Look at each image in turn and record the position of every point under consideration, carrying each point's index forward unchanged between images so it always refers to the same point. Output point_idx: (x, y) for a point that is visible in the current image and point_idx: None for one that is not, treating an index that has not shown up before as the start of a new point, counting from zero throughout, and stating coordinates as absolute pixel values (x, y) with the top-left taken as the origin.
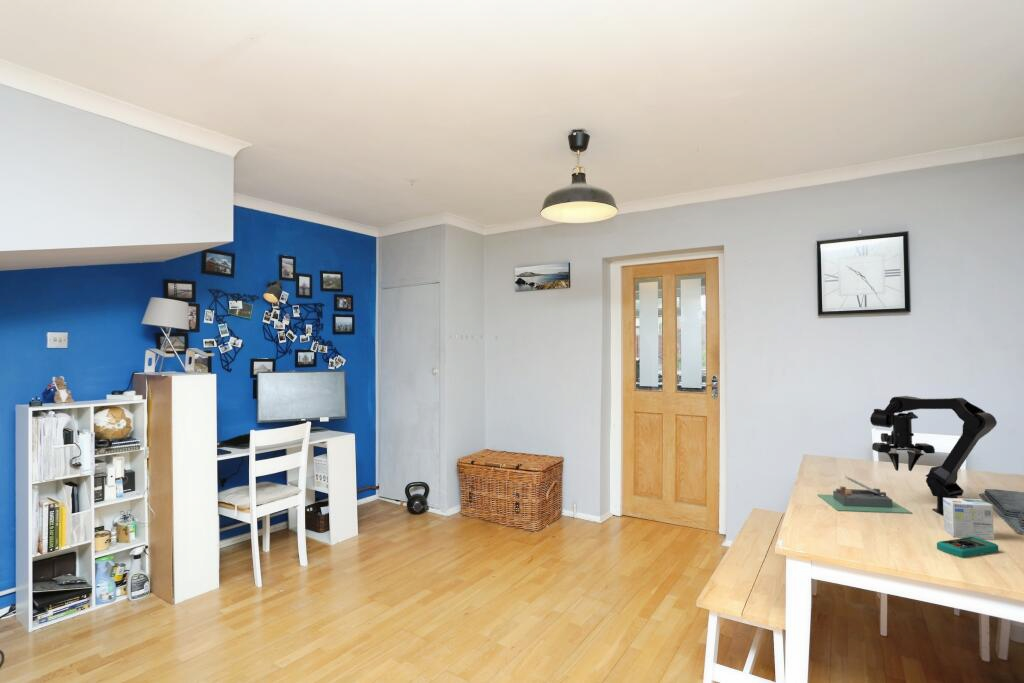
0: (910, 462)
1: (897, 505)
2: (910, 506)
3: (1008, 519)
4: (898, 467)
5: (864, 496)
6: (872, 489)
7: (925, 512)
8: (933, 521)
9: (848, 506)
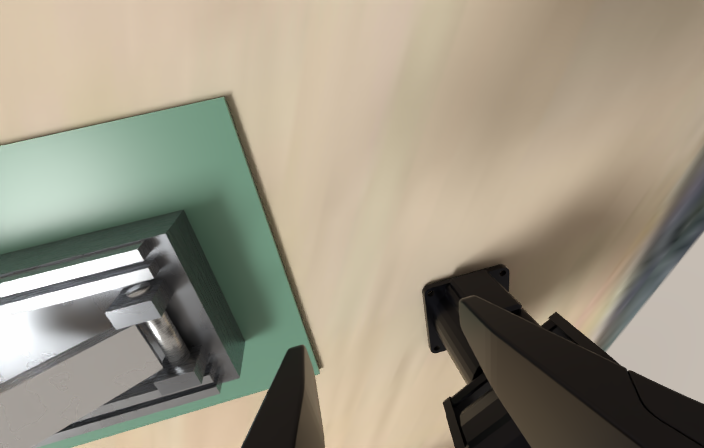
0: (557, 446)
1: (276, 292)
2: (342, 258)
3: (636, 295)
4: (321, 434)
5: (74, 435)
6: (102, 404)
7: (380, 328)
8: (369, 419)
9: None
